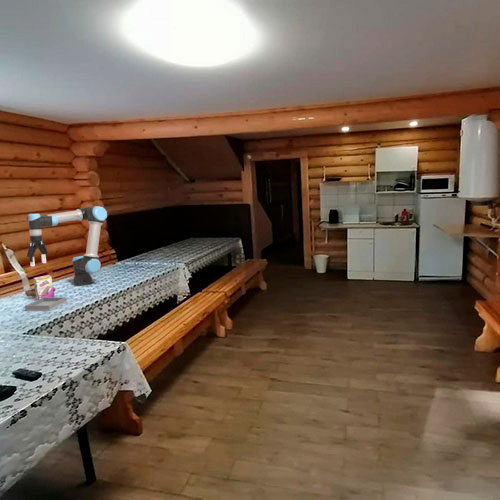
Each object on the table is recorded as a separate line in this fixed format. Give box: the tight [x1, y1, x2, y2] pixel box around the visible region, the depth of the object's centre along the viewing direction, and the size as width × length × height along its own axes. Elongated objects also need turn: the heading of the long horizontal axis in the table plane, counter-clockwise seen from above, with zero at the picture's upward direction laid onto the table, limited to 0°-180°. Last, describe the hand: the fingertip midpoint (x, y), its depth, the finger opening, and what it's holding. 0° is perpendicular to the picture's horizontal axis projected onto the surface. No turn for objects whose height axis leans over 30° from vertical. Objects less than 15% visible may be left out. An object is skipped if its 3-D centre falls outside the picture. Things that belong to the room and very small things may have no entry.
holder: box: [24, 296, 68, 312], centre depth 262 cm, size 18×18×4 cm
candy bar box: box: [33, 274, 56, 301], centre depth 281 cm, size 11×5×16 cm, turn 134°
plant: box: [25, 285, 56, 297], centre depth 300 cm, size 20×20×11 cm
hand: (38, 264), depth 277 cm, fingers open, 13 cm apart
